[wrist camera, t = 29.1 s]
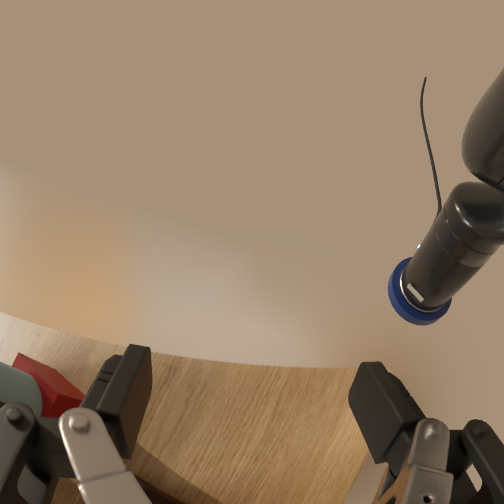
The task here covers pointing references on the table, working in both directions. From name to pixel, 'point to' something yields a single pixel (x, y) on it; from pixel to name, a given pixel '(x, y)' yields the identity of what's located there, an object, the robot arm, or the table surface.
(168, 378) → the table surface
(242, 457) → the table surface
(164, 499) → the stand
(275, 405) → the table surface
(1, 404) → the lid
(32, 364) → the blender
